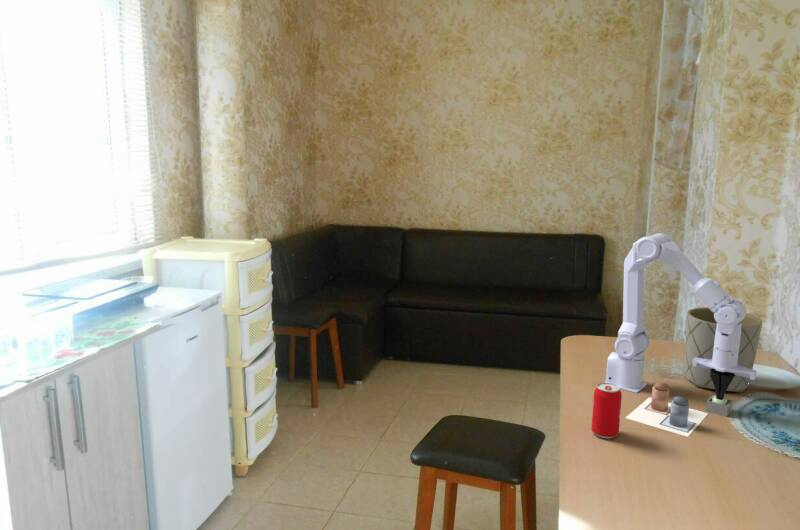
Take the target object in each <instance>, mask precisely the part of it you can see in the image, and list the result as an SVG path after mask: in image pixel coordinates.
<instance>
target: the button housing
mask: <svg viewBox="0 0 800 530" xmlns="http://www.w3.org/2000/svg"><path fill="white" fill-rule="evenodd" d="M713 396H715V395H714V394H711V395H710V396H709V397H708V398H707V400H706V402H705V409H704V411H705V413H711V414H714V415H718V416H722V417H725V418H726V417H728V415H729V414H730V413H731V412H732V408H733V402H734V400H732V399H729V398H727V405H722V404H719V403H715V402H712V398H713Z"/></svg>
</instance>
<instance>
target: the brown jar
mask: <svg viewBox="0 0 800 530" xmlns="http://www.w3.org/2000/svg"><path fill="white" fill-rule="evenodd" d="M651 398H652V401H651V408H652V409H653V410H655V411H659V412H665V411H667V410H668V403H669V398H670V388H669V385H668V384H667V383H664V382H655V383H654V385H653V386H652V390H651Z"/></svg>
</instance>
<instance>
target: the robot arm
mask: <svg viewBox="0 0 800 530" xmlns="http://www.w3.org/2000/svg"><path fill="white" fill-rule="evenodd" d="M628 252H629V253H628V254H627V255H626V257H625V258H624V261H623V288H622V289H623V290H622V291H623V293H622V294H623V295H622V297H623V298H622V299H623V301H622V302H623V304H622V323H621V325H620V328H619V330H618V331H617V339H616V340H615V342H614V351H612V352H610V354H609V355H608V358H607V362H606V372H605V373H606V374H605V381H604V383H612V384H615V385H617V386H619V387H620V390H624V391H629V392H632V393H636V394H637V393H639V392H641V390H642V389H644V388H645V387H646V386H647V385H648V383H647V382H644V381H643V376H644V366H645V351H646V350H647V349H648V347H649V345H650V338H649V336H648V334H647V327H646V325H645V323H644V298H645V297H644V296H645V268H646V267H647V266H648V265H650V264H651V263H652V262H653V261H654V260H656V259H657V260H656V262H658V263H662V264H667V265H671V266H672V267H673V268H674V269H676V271H677V272H679V274H680V275H682V276H683V277H684V278H685V279H686V280H687V281H688V282H689V283H690V284H691V285H693V292H694V294H695V296H696V297H697V298H698V299H699V300H700V301H701V302H702V303H703V304H704V305H705V306H706V307H708V308H709V309H710V310H711V311H712V312H714V318H715V321H716V322H717V327H716V332H715V341H714V349H713V357H712V360H711V359H703V358H697V357H695V358H694V359H693V365H692V366H695V367H697V366H699V367H703V368H708V369H711V372H710V377H711V379H712V381H713V384H714V387H715V389H714V390H715V395H716V399H719V400H723V398H724V397H725V396H726V392H727V391H726V390H727V388H728V386H729V385H730V383H731V381H732V380H733V378H734V377H735V376H736V375H738V376H742V377H747V378H750V379H751V380H752V381H754V380H756V379H757V373H758V371H757V370H755V369H753V370H752V369H748V368H745V367H743V366H740V365H737V361H738V354H739V346H740V338H741V326H742V323H741V321H742V320H743V319H744V318H745V316H746V313H747V309H746V307H745V305H744V304H743V302H742V301H739V300H738V299H736V298H735V297H734V296H732V295H729V293H727V292H726V290H724V289H723V288H722V286H721V285H722V283H721V281H719V280H715V279H714V278H712V277H711V278H710V277H705V276H704V275H703V274H702V273H701V271H700V270H699V268H697V267H696V266H695V265H694V264H693V262H692V261H691V260H690V259H689V258H688V257H687V256H686V254H685V253H684V252H683V251H682V250H681V249H680V247H679V246H678V244H677V243H676V242H675V241H673V240H672V239H671V238H670V236H668V235H667V234H665V233H661V232H659V233H658V232H657V233H655V234H652V235H648V236H643V237H641V238H639V239H638V240H637V241H635V242H634V243H632V247H631V249H630V250H629V251H628ZM739 322H740V323H739ZM751 380H750V381H751Z"/></svg>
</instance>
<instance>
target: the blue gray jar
mask: <svg viewBox="0 0 800 530" xmlns="http://www.w3.org/2000/svg"><path fill="white" fill-rule="evenodd" d="M670 403H671V411H670V420H669V423H670V424H671V425H673V426H675V427H680V428H683V427H686V426H687V421H688V412H689V408H690V403H689V400H688V399H687V398H686V397H682V396H674V397H673V400H671V402H670Z"/></svg>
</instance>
